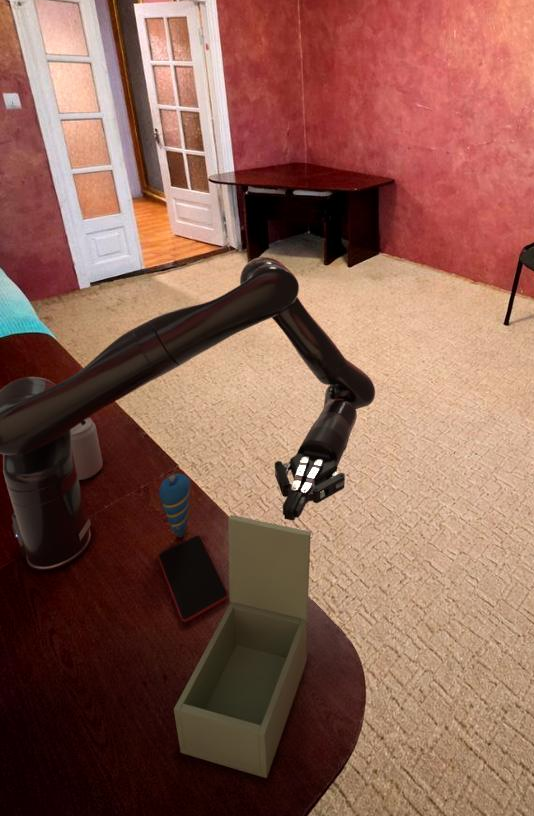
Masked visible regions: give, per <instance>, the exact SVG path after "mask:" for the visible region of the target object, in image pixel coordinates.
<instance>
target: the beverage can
mask: <svg viewBox="0 0 534 816" xmlns="http://www.w3.org/2000/svg"><path fill="white" fill-rule="evenodd" d="M97 431H98V430H97V426H96V423H94V421H93V419H92V418H90V417H88V418H87V419H85V420H84V421H82V422H81V423H80V424H78V425H77V426H75V427H74V428H72V429H71V435H72V448H73V456H74V461H75V466H76V471H77V475H78V480H79V481H83V480H87V479H90V478H92V477H93V476H95V475H96V474H97V473H99V471H101V469H102V468H103V465H104V463H103V457H102V453H101V447H100V441H99V435H98V432H97Z"/></svg>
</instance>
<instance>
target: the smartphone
mask: <svg viewBox="0 0 534 816" xmlns="http://www.w3.org/2000/svg"><path fill="white" fill-rule="evenodd" d="M157 560H158V562H159V564H160V567H161V570H162V572H163V575H164V578H165V580H166V583H167V586H168V588H169V591H170V593H171V596H172V599H173V601H174V604H175V607H176V610H177V612H178V615H179V618H180V620H181V621H182V622H183V623H188V622H190V621H192V620H193V619H195V618H197V617H198V616H200V615H202V614H204V613H206V612H207V611H209V610H210V609H213V608H214V607H216V606H218V605H219V604H221V603H222V602H225V601H226V600H227V598H228V597H229V591H228V589H227V587H226V584H225V582H224V581H223V579H222V577H221V575H220V572H219V570H218V568H217V566H216V565H215V562H214V559H212V556H211V554H210V552H209V550H208V548H207V546H206V544H205V542H204V540H203V538H202V536H201V535H198V534H197V535H193V536H192V537H190V538H188V539H186V540H183V541H181V542H179V543H178V544H175V545H173V546H171V547H169V548H167V549H165V550H163V551H161V552H160V553H159V554H158V556H157Z"/></svg>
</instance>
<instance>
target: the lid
mask: <svg viewBox="0 0 534 816" xmlns="http://www.w3.org/2000/svg"><path fill="white" fill-rule="evenodd" d="M227 523H228V524H227V529H228V530H227V531H228V532H227V536H228V579H229V580H228V582H229V583H228V584H229V586H228V588H229V602H230V603H231V602H235V603H239V604H243V605H247V606H251V607H256V608H260V609H264V610H268V611H272V612H276V613H281V614H285V615H289V616H293V617H297V618H301V619H306V620H307V617H308V614H309V590H310V589H309V587H310V564H311V563H310V562H311V561H310V560H311V559H310V558H311V533H312V532H311V531H308V530H304V529H299V528H296V527H290V526H285V525H281V524H277V523H271V522H267V521H262V520H256V519H252V518H248V517H243V516H237V515H233V514H230V515H229V517H228V519H227Z"/></svg>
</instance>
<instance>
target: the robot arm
mask: <svg viewBox="0 0 534 816" xmlns="http://www.w3.org/2000/svg"><path fill="white" fill-rule="evenodd" d="M299 292H300V285H299V281H298V279H297V277H296V276H295V275H294V273H293V272H292V271H291V270H290V269H289V268H287V266H285V265H284V264H283V263H281V262H280V261H279V260H277V259H275V258H271V257H265V256H260V257H256V258H253V259H251V260H250V261H248V262H247V263H246V264H245V265H244V267H243V268H242V270H241V273H240V275H239V285H238V286H236V287H234V288H233V289H231V290H229V291H228V292H226V293H224V294H222V295H220V296H218V297H216V298H214V299H213V300H210V301H206V302H203V303H199V304H194V305H190V306H186V307H182V308H178V309H174V310H171V311H167V312H165V313H162V314H160V315H157V316H155V317H153V318H151V319H149V320H147V321H145V322H143V323H142V324H140V325H138V326H135V327H134V328H131V329H130V330H128V331H127V332H125V333H124V334H122V335H121V336H119V337H118V338H116V339H115V340H114V341H113V342H111V344H109V345H108V346H107V347H105V348H104V349H103V350H102V351H101V352H99V354H98V355H96V356H95V357H94V358H93V359H92V360H91V361H90V362H89V363H87V365H85V366H84V367H83V368H82V369H80V370H79V371H77V372H76V373H75V374H73V375H72V376H70V377H68V378H67V379H65V380H63V381H61V382H59V383H57V384H56V383H54V382H52V381H51V380H49V379H47V378H43V377H38V376H27V377H21V378H18V379H15V380H13V381H10V382H9V383H7V385H5V386H3V387H2V388H1V389H0V455H2V456H3V457H2V458H3V459H2V465H3V466H2V473H3V476H4V480H5V481H4V482H5V484H6V488H7V491H8V494H9V499H10V501H11V506H12V509H13V513H12V515H11V520H12V524H11V528H12V531H13V534H14V538H15V539H17V540H18V545H19V547H20V552H21V555H22V557H23V558H25V559H26V562H27V564H28V567H30V568H31V569H32V570H34V571H38V572H50V571H54V570H57V569H60V568H63V567H65V566H67V565H69V564H71V563H72V562H74V561H76V560H77V559H78V558H79V557H80V556H81V555H83V553H84V552H85V551H86V550H87V548H88V547H89V546H90V543H91V540H92V533H91V529H90V527H91V526H92V524H91V518H90V517H89V518H87V513H86V508H85V503H84V499H83V494H82V489H81V486H80V480H78V475H77V471H76V466H75V461H74V456H73V448H72V435H71V429H72V428H74V427H75V426H77V425H78V424H80V423H81V422H82V421H84V420H85V419H87V418H90V417H91V416H93V415H94V414H96V413H97V412H99V411H101V410H102V409H104V408H106V407H108V406H109V405H111V404H113V403H115V402H116V401H119V400H120V399H122V398H124V397H126V396H128V395H130V393H133V392H134V391H136V390H138V389H139V388H142V387H143V386H145V385H147V384H148V383H150V382H152V381H154V380H156V379H158V378H160V377H162V376H164V375H166V374H167V373H170V372H171V371H173V370H175V369H177V368H179V367H180V366H182V365H184V364H186V363H187V362H188V361H190V360H192V359H194V358H195V357H197V356H199V355H201V354H203V353H204V352H206V351H207V350H210V349H211V348H213V347H215V346H217V345H218V344H221V343H222V342H223V341H225V340H227V339H229V338H230V337H232V336H234V335H236V334H238V333H240V332H242V331H245V330H247V329H249V328H251V327H254V326H255V325H258V324H260V323H263V322H265V321H268V320H270V319H273V321H274V323H276V324H277V326H278V327H279V328H280V329H281V331H282V332H283V334H284V335H285V336H286V338H287V340H289V342H290V344H291V345H292V347H293V348H294V349H295V351H296V352H297V354H298V355H299V356H300V358H301V360H302V361H303V362H304V363H305V365H306V366H307V367H308V369H309V370H310V371H311V372H312V374H313V375H314V377H316V379H317V380H318V381H319V382H320V383H321V384H323V385H326V386H327V387H326V389H325V393H324V402H323V408H322V410H321V411H320V414H319V415H318V417H317V419H316V420H315V421H314V423H312V425H311V427H310V429H309V430H308V432H307V434H306V436H305V438H304V439H303V441H302V443H301V445H300V446H299V448H298V450H297V453H296V454H295V455H293V456H292V457H291V458H290V459H289V461H288V462H284V463H283V462H282V461H280V460H277V461H275V462H274V476H275V479H276V482H277V484H278V487H279V490H280V493H281V496H282V497H284V498H285V500H284V502H283V503H282V516H284V520H287V521H292V522H293V521H295V520H296V518H297V519H298V518H300V516H301V515H302V513H303V511H304V509H305V507H306V505H307V504H308V503H309V502H313V503H314V504H319V503H321V502H322V501H325V500H326V499H328V498H329V497H331V496H333V495H335V494H336V493H338V492H340V491H342V490H343V489H345V486H346V485H345V484H346V474H345V473H344V472H339V471H338V466H339V464H340V461H341V460H342V457H343V455H344V453H345V451H346V450H347V448H348V443H349V440H350V436H351V433H352V431H353V429H354V427H355V425H356V421H357V418H358V413H357V410H358V409H362V408H365V407H368V406H370V405H371V404H372V403H374V400H375V397H376V388H375V384H374V382H373V380H372V379H371V378H370V377H369V376H368V374H367V373H366V372H365V371H363V370H362V369H360V368H359V367H357V366H356V365H355V364H354V363H352V362H351V361H349V360H348V359H347V358H346V357H345V356H344V354H342V351H340V349H339V348H338V346H337V345H336V344H335V342H334V341H333V340H332V339H331V337H330V335H328V333H326V331H325V330H324V329H323V328H322V327H321V326H320V324H319V323H318V322H317V321H316V320H315V319H314V317H313V316H312V315H311V313H309V311H308V310H307V309H306V307H305V306H304V304H303V303H302V301H301V300H300V299H299V297H298V295H299ZM289 471H290V472H291V475H292V479H293V481H292V484H291V483H290V482H291V481H290V479H289V477H288V475H289Z"/></svg>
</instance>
